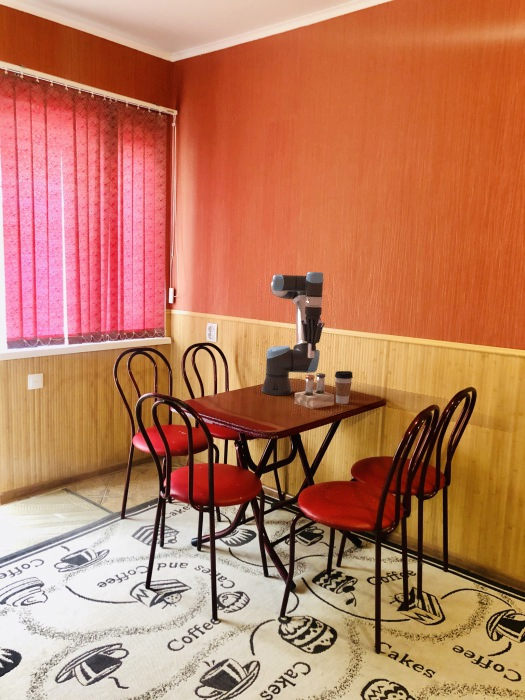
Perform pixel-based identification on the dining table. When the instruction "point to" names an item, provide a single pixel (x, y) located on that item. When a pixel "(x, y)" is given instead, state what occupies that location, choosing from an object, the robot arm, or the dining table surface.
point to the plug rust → (309, 384)
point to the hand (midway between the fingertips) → (311, 357)
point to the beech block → (314, 399)
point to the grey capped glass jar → (320, 383)
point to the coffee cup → (343, 386)
